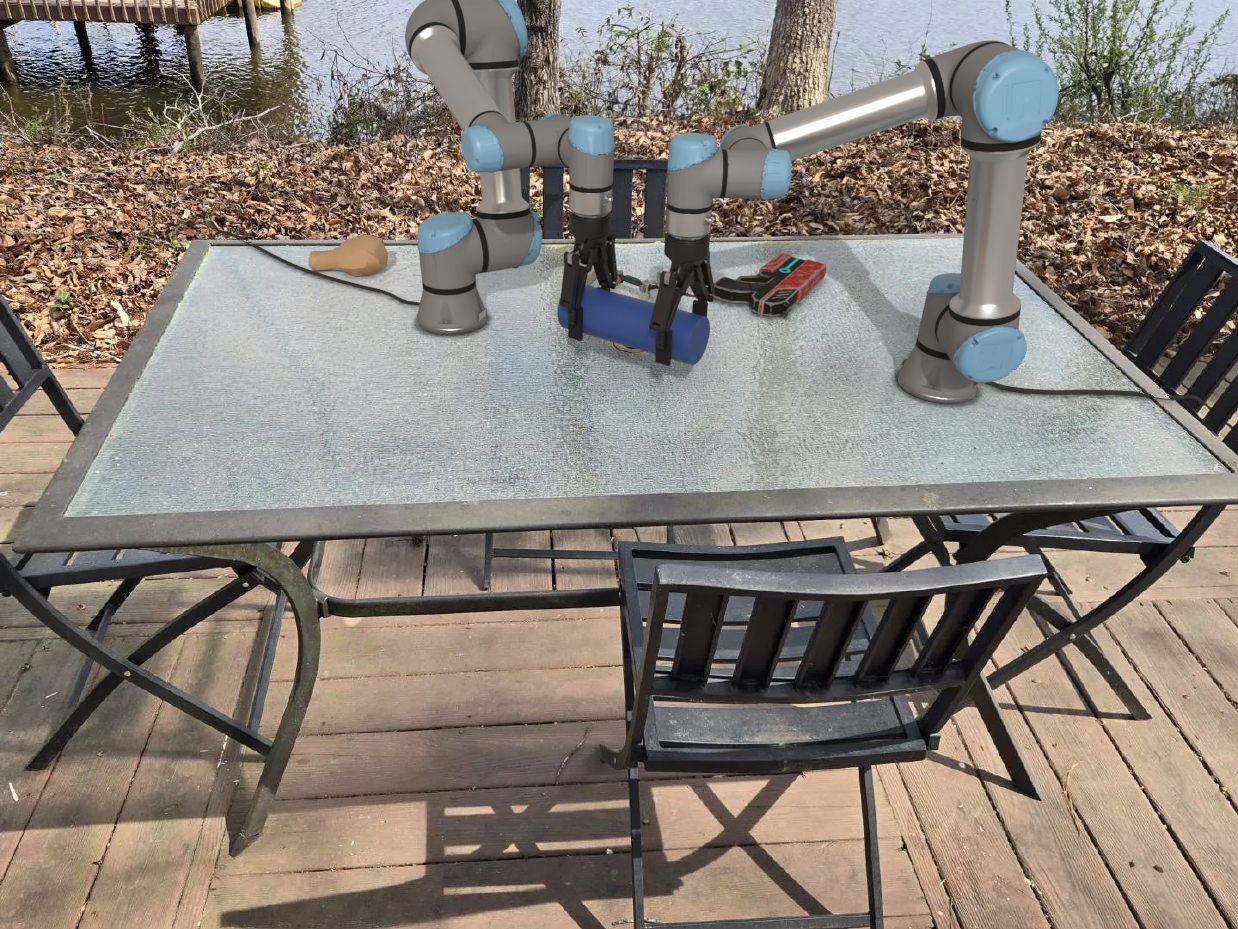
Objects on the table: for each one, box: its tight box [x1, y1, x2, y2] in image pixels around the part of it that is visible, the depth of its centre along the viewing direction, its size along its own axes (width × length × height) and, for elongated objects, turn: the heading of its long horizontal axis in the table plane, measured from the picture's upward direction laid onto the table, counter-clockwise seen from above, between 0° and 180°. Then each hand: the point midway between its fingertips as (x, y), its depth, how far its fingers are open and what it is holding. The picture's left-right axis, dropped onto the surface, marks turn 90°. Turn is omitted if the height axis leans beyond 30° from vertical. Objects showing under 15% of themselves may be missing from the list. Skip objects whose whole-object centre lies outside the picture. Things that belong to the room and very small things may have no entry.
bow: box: [585, 269, 695, 309], centre depth 205 cm, size 39×2×10 cm, turn 47°
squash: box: [308, 233, 389, 277], centre depth 218 cm, size 11×20×9 cm, turn 90°
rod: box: [556, 285, 711, 366], centre depth 160 cm, size 27×9×9 cm, turn 59°
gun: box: [711, 252, 827, 318], centre depth 215 cm, size 4×31×19 cm
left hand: (589, 329), depth 166 cm, fingers closed on rod, 9 cm apart
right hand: (681, 348), depth 157 cm, fingers open, 13 cm apart
